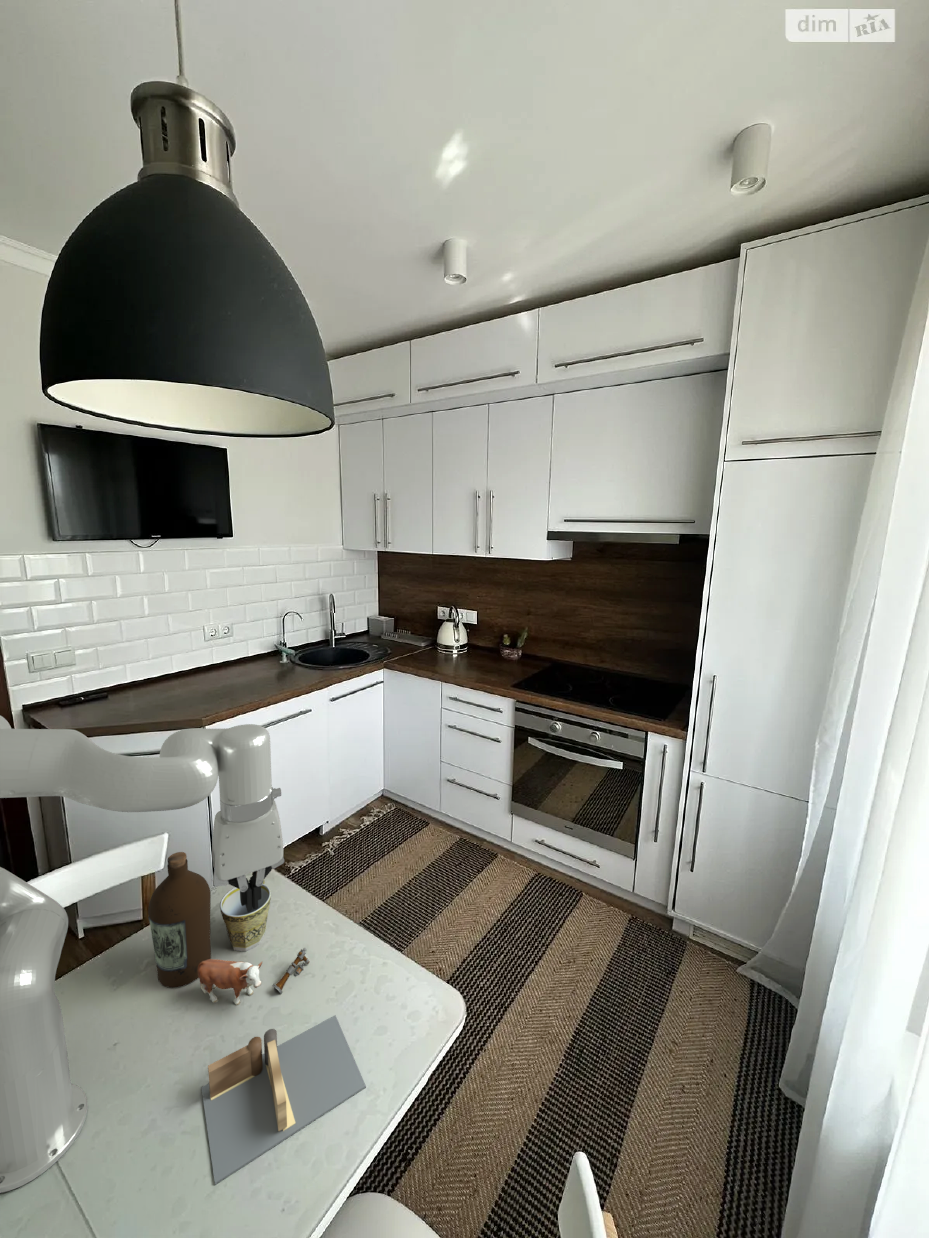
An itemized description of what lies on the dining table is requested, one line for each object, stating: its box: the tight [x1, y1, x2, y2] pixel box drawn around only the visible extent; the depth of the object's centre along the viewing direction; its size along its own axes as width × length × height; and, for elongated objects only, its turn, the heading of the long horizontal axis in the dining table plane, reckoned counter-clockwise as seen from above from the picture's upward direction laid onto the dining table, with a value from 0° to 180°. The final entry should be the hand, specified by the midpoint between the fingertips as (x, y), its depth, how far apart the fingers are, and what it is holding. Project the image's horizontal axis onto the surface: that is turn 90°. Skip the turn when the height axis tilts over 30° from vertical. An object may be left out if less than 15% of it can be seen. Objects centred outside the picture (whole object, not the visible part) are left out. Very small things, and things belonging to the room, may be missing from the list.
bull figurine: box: [198, 958, 263, 1006], centre depth 93 cm, size 4×13×8 cm, turn 78°
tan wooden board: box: [263, 1028, 287, 1131], centre depth 78 cm, size 12×2×5 cm, turn 30°
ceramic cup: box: [219, 880, 272, 952], centre depth 107 cm, size 13×10×10 cm
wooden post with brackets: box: [271, 947, 310, 995], centre depth 98 cm, size 2×8×4 cm, turn 149°
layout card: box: [200, 1014, 367, 1186], centre depth 79 cm, size 22×14×1 cm, turn 124°
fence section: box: [207, 1036, 263, 1098], centre depth 79 cm, size 8×2×5 cm, turn 124°
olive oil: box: [147, 851, 212, 989], centre depth 97 cm, size 11×11×25 cm
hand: (251, 904), depth 81 cm, fingers closed
